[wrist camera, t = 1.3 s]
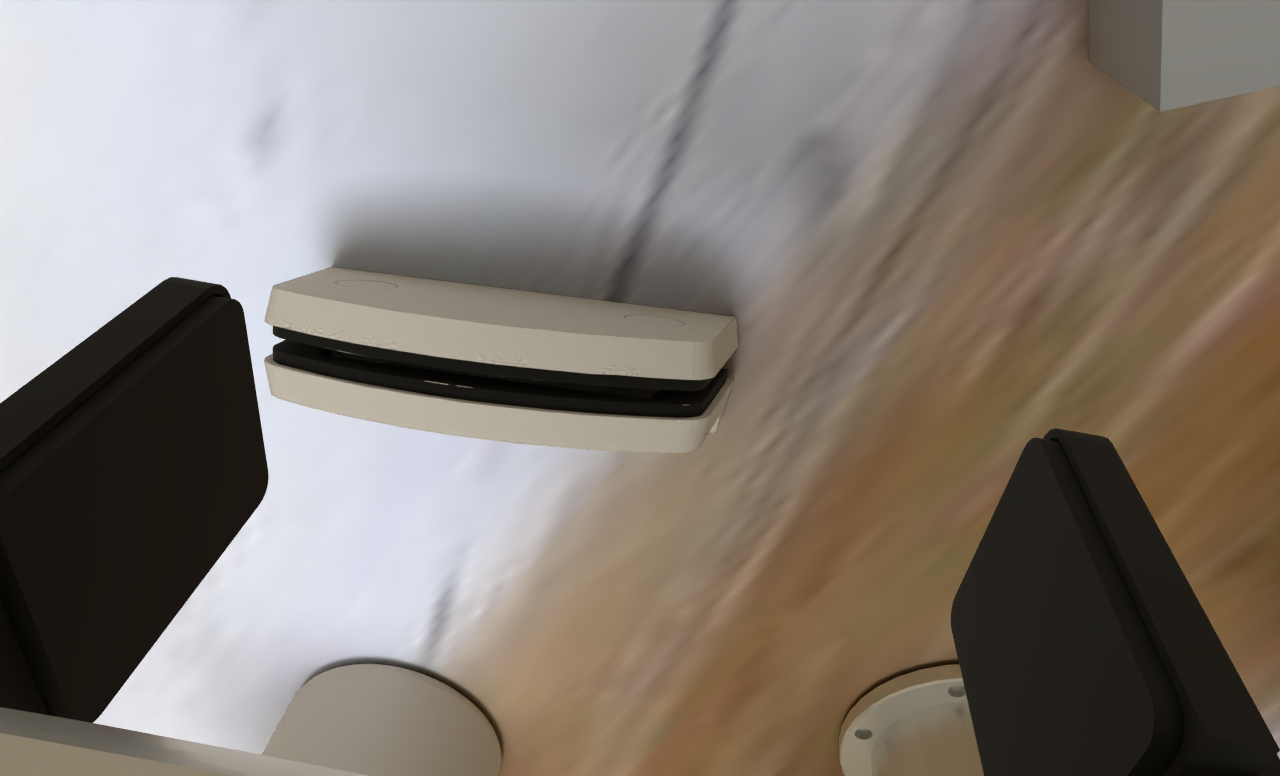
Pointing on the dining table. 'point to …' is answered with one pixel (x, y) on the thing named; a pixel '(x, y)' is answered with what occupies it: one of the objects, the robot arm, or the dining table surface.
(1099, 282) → the dining table surface
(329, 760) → the cylinder vase
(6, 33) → the dining table surface
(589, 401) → the off-white grooved curved block
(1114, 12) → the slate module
